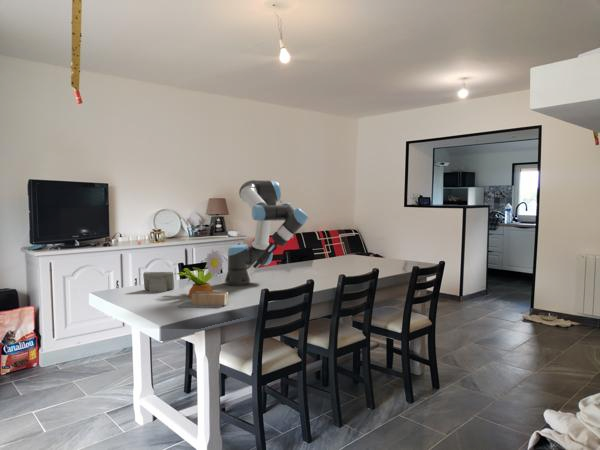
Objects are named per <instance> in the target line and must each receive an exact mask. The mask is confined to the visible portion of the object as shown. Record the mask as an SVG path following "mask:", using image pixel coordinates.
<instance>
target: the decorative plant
mask: <svg viewBox="0 0 600 450" xmlns="http://www.w3.org/2000/svg"><path fill="white" fill-rule="evenodd" d="M206 255H207V256H206V257H205V258H204V260H205V262H206V265H205V267H204V269H201V268H199V267H196V266H195V267H194V266H193V267H192V269H193V270H195V271H198V276H197V275H196V274H195V273H193V272H192V271H191V270H190V269H189V268H188V267H187V268H185V267H184V268H183V269H182V271H180V272H177V273H175V272H173V275H178V276H186V277H187V278H188V280H187V281H188V282H190V281H192V282H193V284H192V286H191V287H190V289H189V291H188V297H189V298H192V294H193V293H194V292H195V291H212V292H214V290H213V288H212V286H211V284H210V283H209V282H208V281H209V280H211V278H213V277H214V276H215V277H217V276H218V275H219V274H221V271H222V270H223V269H224V267H223V263H224V260H223V258H222V257H223V254H219V252H218V250H214V249H212V250H211V252H209V253H207V254H206ZM207 269H208V270H207ZM206 270H207V273H205V271H206Z"/></svg>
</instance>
